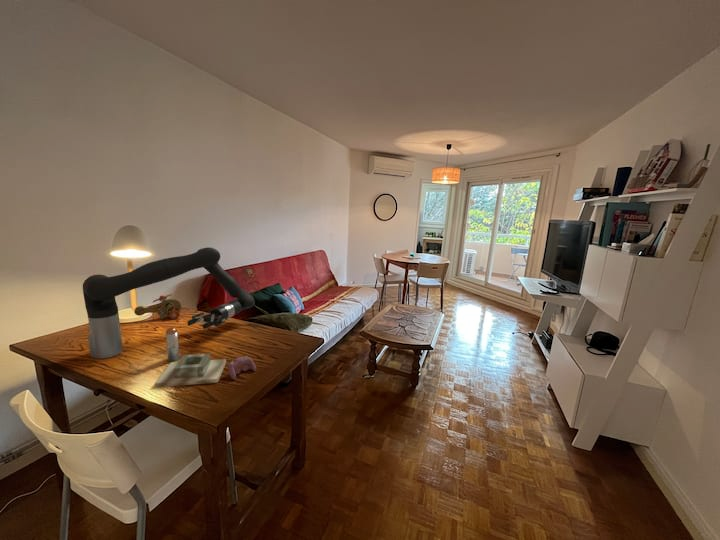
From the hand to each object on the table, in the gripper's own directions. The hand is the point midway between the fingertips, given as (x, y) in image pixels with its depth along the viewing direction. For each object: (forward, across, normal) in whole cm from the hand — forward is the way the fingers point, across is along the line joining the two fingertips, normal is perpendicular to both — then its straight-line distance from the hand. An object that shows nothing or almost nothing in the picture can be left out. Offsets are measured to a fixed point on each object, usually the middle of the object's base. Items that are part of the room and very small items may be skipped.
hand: (195, 325), depth 126 cm
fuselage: (+12, 0, +10) cm, 16 cm away
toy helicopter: (-17, -42, +11) cm, 47 cm away
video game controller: (+9, +31, +11) cm, 34 cm away
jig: (+17, +15, +10) cm, 25 cm away
